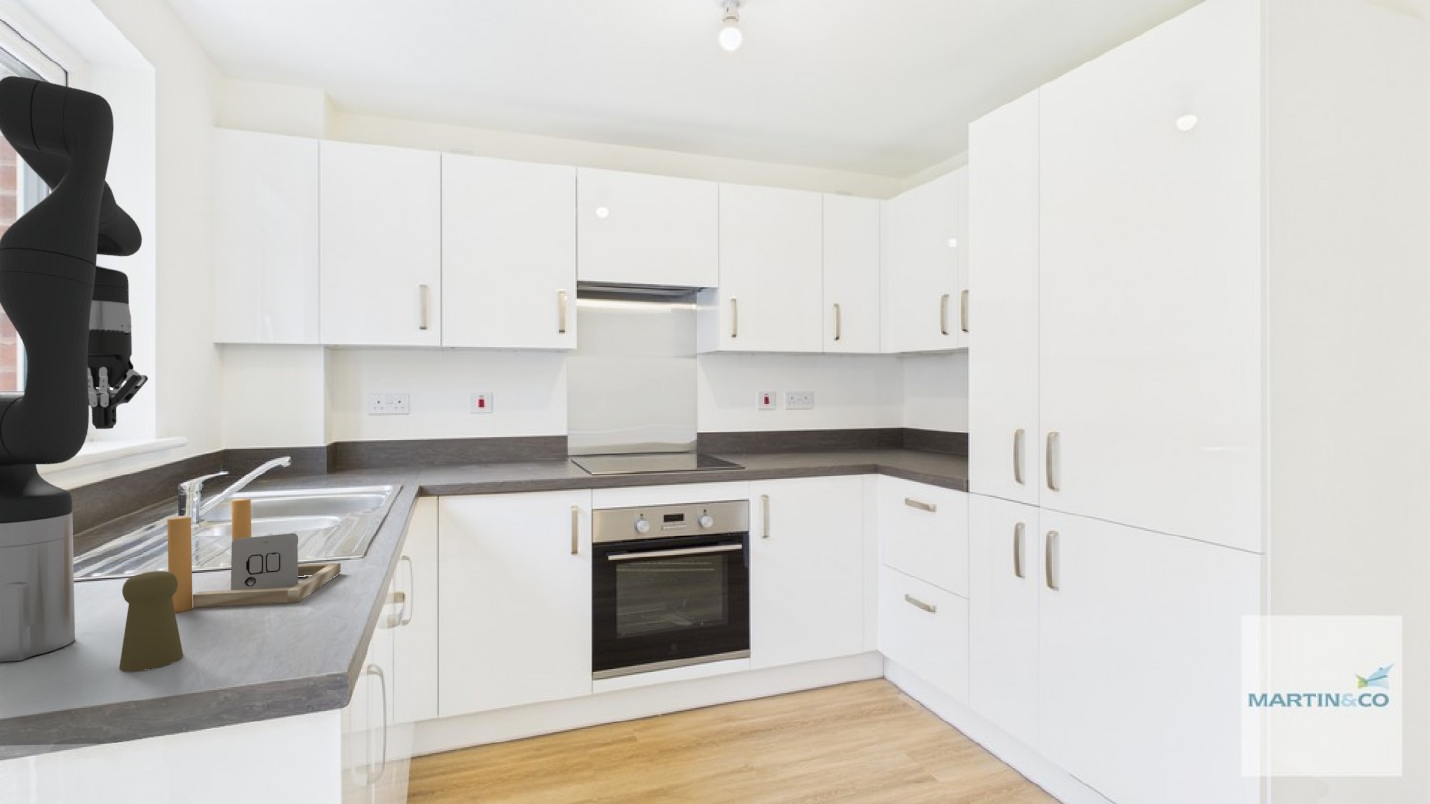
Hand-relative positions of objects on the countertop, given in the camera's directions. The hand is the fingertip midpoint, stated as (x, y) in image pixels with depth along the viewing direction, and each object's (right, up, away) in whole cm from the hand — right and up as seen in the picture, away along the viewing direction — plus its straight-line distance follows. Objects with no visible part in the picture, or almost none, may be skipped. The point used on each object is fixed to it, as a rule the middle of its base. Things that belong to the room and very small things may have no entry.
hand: (104, 428), depth 115 cm
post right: (+22, -27, +3) cm, 35 cm away
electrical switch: (+30, -27, -4) cm, 41 cm away
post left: (+25, -27, -14) cm, 39 cm away
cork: (+37, -28, -33) cm, 57 cm away
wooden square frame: (+31, -27, -4) cm, 41 cm away
